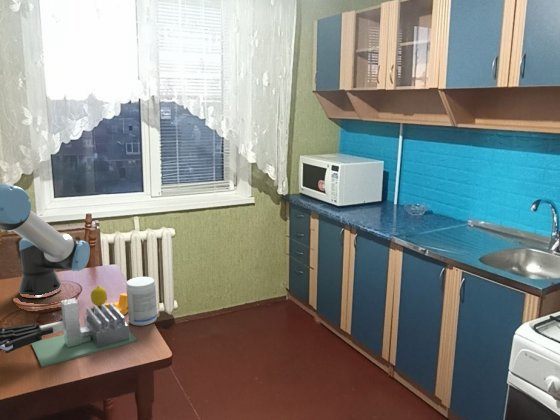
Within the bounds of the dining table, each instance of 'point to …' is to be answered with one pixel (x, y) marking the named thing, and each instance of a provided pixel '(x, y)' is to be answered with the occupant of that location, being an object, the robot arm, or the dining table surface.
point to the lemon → (98, 296)
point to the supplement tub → (141, 301)
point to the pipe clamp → (121, 304)
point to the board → (67, 349)
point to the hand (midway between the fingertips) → (63, 325)
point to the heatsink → (105, 326)
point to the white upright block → (72, 323)
